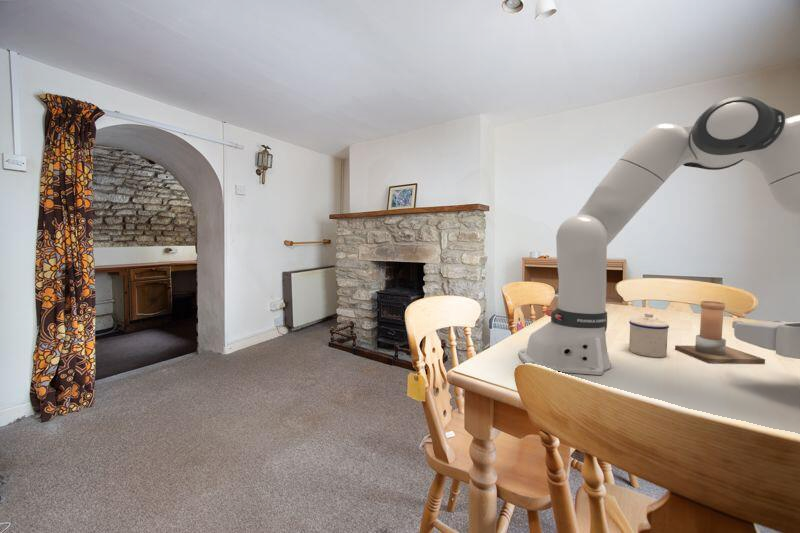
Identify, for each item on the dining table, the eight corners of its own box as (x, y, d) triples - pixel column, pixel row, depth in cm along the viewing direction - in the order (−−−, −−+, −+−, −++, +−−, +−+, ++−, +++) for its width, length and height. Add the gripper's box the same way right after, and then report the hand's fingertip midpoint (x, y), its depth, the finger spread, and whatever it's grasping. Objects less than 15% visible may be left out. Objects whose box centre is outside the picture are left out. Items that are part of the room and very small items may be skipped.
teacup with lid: (676, 358, 88) (678, 316, 87) (641, 357, 88) (642, 316, 88) (646, 344, 99) (647, 308, 99) (615, 344, 100) (617, 307, 99)
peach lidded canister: (709, 340, 86) (711, 304, 86) (694, 335, 91) (696, 300, 91) (727, 340, 86) (730, 304, 85) (711, 335, 91) (713, 301, 90)
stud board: (708, 363, 84) (709, 343, 84) (675, 349, 95) (675, 332, 94) (764, 363, 83) (766, 344, 83) (724, 349, 94) (725, 332, 94)
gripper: (887, 326, 62) (802, 311, 76) (777, 326, 64) (713, 311, 77) (884, 357, 63) (800, 337, 77) (775, 357, 64) (711, 337, 78)
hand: (755, 324), depth 77 cm, fingers open, 8 cm apart
